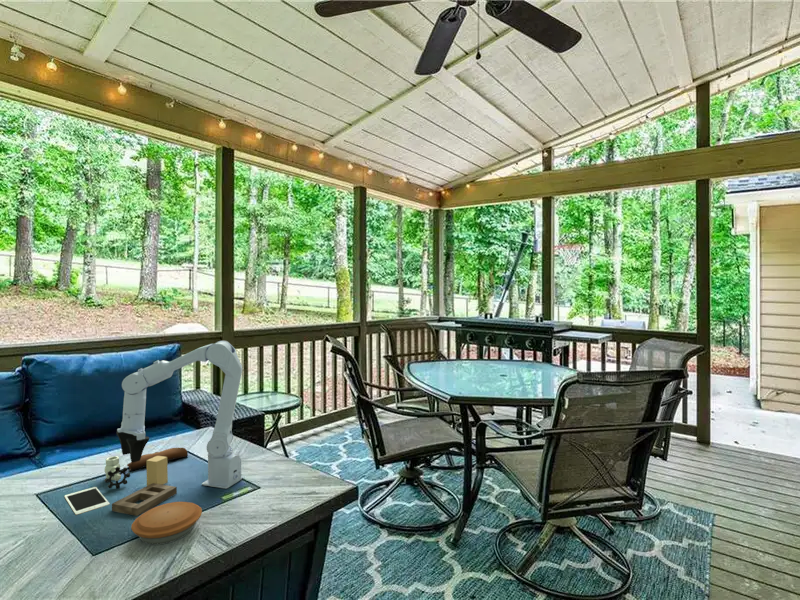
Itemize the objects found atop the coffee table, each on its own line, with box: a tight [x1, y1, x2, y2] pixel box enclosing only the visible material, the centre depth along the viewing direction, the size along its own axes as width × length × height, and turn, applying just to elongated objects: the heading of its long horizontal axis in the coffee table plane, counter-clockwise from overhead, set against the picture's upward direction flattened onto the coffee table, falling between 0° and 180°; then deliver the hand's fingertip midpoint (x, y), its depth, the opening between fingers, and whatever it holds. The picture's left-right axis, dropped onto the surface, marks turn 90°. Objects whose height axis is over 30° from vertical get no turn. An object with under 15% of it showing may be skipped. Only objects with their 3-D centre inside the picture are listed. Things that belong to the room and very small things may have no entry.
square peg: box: [146, 456, 169, 486], centre depth 132 cm, size 4×4×8 cm
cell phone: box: [64, 486, 111, 516], centre depth 122 cm, size 8×16×1 cm, turn 47°
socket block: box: [111, 483, 178, 517], centre depth 121 cm, size 9×13×2 cm
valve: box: [104, 455, 131, 490], centre depth 134 cm, size 7×7×12 cm
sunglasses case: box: [126, 447, 189, 472], centre depth 150 cm, size 18×7×7 cm
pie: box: [131, 501, 203, 545], centre depth 106 cm, size 15×16×5 cm
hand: (131, 457), depth 128 cm, fingers open, 7 cm apart
